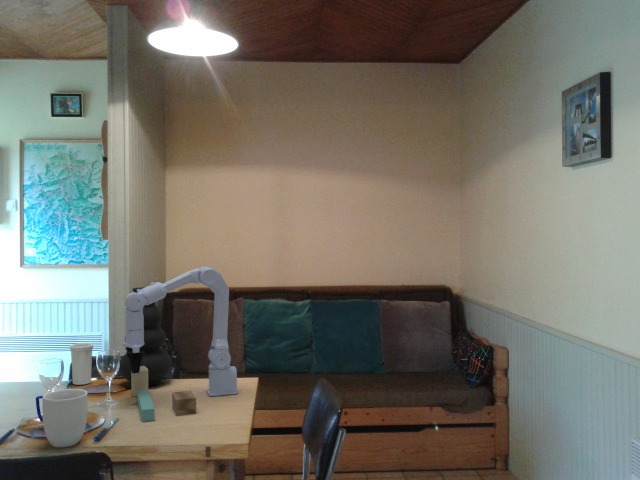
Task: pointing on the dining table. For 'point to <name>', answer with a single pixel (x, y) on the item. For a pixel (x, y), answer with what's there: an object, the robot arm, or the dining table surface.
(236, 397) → the dining table surface
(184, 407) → the block
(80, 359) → the cup
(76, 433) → the mug
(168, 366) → the vase
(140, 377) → the candle
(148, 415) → the teal rectangular bar
